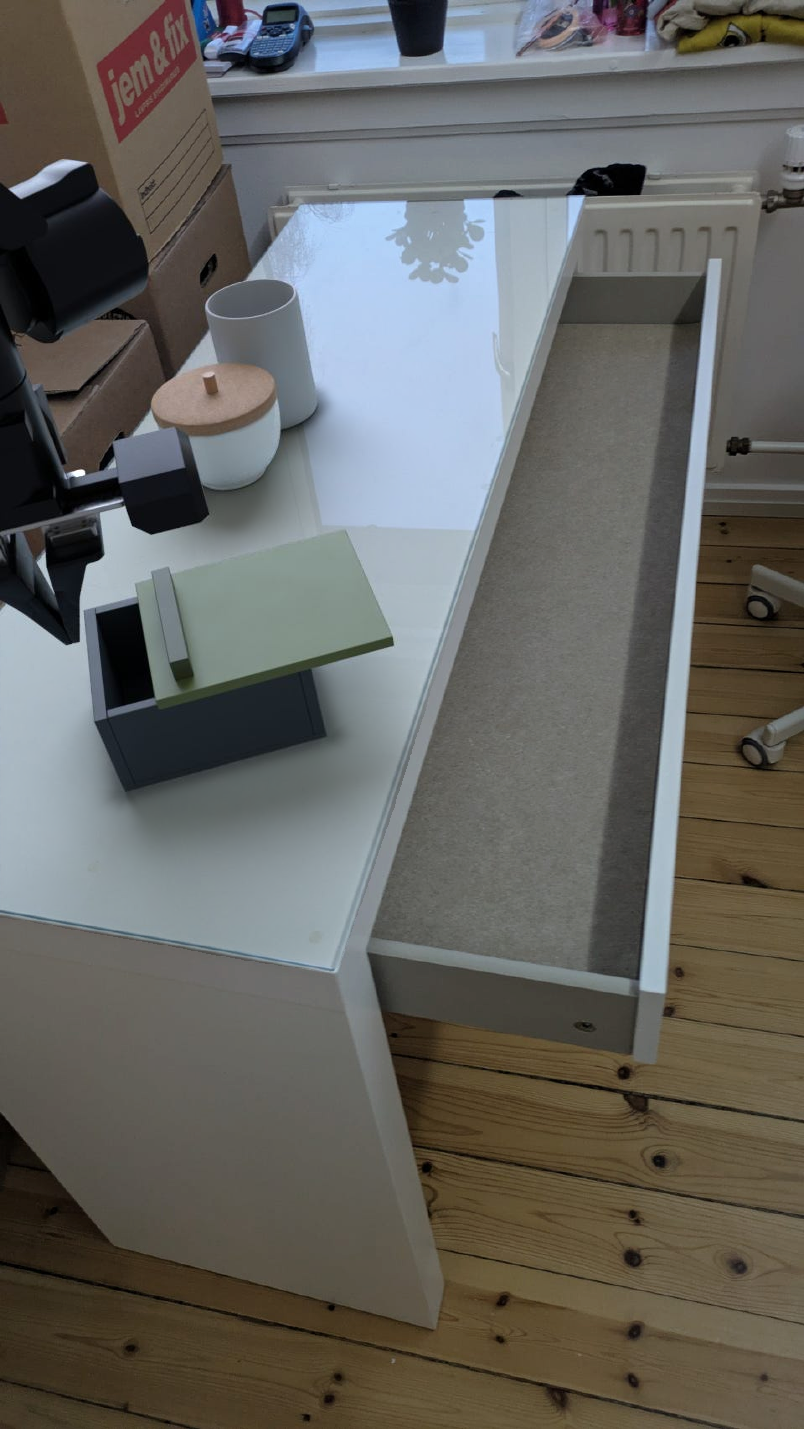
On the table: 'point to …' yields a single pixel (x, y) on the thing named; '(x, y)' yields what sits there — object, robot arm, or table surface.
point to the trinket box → (223, 420)
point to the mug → (266, 340)
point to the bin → (184, 709)
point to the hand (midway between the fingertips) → (72, 639)
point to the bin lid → (257, 618)
